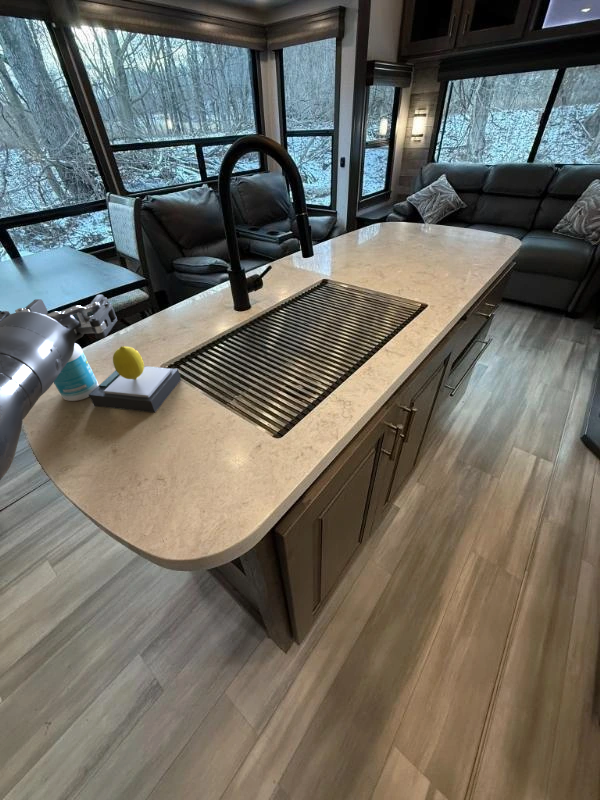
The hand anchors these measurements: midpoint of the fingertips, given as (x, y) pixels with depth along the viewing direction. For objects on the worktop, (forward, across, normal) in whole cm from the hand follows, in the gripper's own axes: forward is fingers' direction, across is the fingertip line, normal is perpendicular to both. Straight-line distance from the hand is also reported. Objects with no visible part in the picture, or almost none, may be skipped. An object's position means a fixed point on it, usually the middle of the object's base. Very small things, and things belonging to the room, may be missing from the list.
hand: (72, 303), depth 50 cm
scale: (+11, 0, +25) cm, 27 cm away
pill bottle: (+14, +13, +25) cm, 31 cm away
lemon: (+11, 0, +22) cm, 24 cm away
